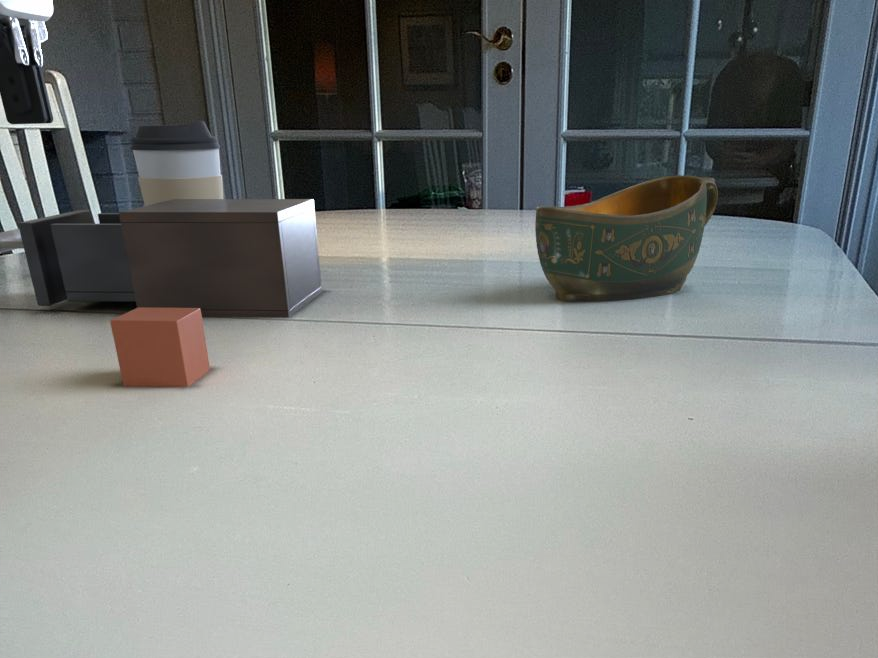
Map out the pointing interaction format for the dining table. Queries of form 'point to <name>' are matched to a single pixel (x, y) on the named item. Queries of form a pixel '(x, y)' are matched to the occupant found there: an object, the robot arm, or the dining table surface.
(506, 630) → the dining table surface
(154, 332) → the block
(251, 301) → the cabinet
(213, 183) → the coffee cup
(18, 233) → the drawer
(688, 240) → the creamer
